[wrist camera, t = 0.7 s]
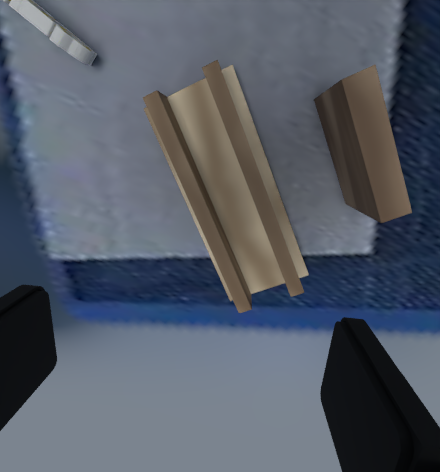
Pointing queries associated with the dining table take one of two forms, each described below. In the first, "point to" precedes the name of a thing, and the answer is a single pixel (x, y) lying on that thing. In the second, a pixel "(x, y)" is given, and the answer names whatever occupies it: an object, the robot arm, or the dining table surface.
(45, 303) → the robot arm
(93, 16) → the dining table surface
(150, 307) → the dining table surface
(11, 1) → the decorative sign
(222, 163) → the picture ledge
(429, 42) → the dining table surface
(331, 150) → the walnut picture frame
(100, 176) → the dining table surface
